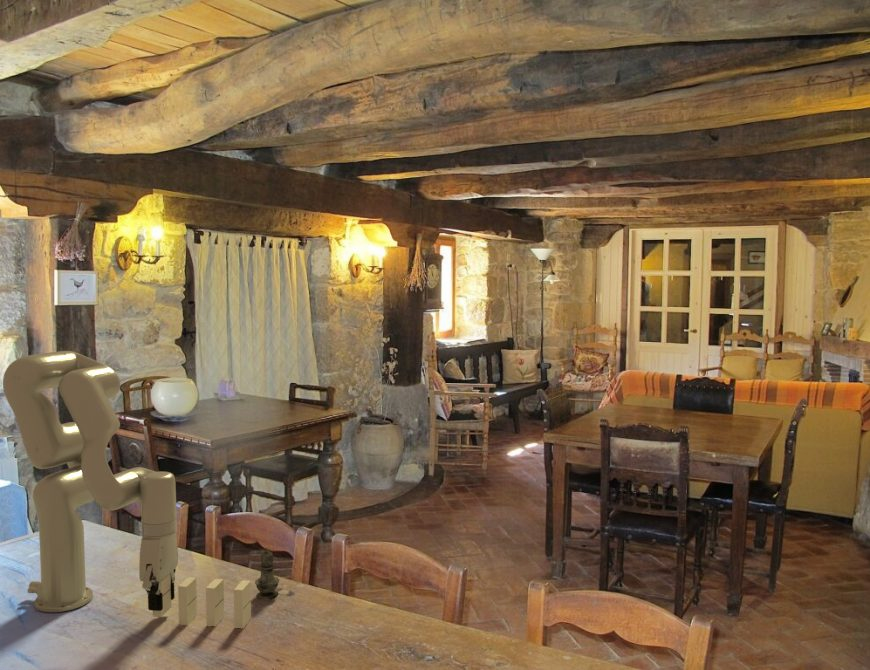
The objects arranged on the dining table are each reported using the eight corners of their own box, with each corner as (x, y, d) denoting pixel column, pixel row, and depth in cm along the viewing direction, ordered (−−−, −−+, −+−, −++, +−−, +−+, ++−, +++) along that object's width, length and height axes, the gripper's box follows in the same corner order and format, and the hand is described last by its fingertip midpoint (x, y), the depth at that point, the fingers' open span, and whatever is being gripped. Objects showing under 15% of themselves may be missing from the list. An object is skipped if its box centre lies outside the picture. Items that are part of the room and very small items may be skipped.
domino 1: (152, 616, 168) (151, 578, 167) (163, 606, 173) (162, 569, 172) (161, 617, 168) (160, 578, 167) (171, 607, 173) (170, 569, 172)
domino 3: (206, 626, 167) (206, 587, 166) (215, 616, 172) (215, 578, 171) (215, 627, 166) (214, 588, 166) (224, 616, 171) (223, 579, 171)
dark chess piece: (273, 601, 180) (273, 553, 179) (251, 599, 181) (250, 551, 180) (283, 591, 185) (282, 544, 184) (261, 589, 187) (260, 542, 186)
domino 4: (234, 628, 166) (233, 589, 165) (242, 618, 171) (242, 580, 170) (243, 629, 166) (242, 590, 165) (251, 618, 171) (250, 580, 170)
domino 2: (178, 624, 167) (178, 586, 167) (188, 614, 172) (187, 577, 172) (187, 625, 167) (186, 586, 166) (197, 615, 172) (196, 577, 171)
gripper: (161, 514, 178) (163, 588, 179) (123, 539, 161) (126, 620, 162) (191, 515, 177) (193, 589, 178) (156, 541, 160) (159, 622, 161)
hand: (161, 603), depth 170 cm, fingers closed on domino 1, 4 cm apart
